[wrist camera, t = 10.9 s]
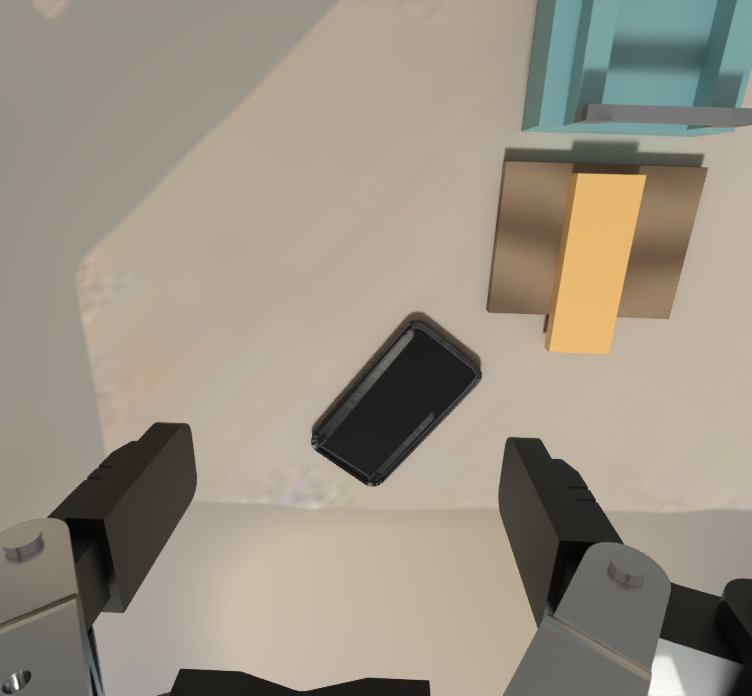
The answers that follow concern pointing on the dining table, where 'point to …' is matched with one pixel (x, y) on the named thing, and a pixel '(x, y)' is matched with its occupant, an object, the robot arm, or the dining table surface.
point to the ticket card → (592, 261)
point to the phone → (396, 404)
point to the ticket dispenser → (639, 67)
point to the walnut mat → (545, 225)
